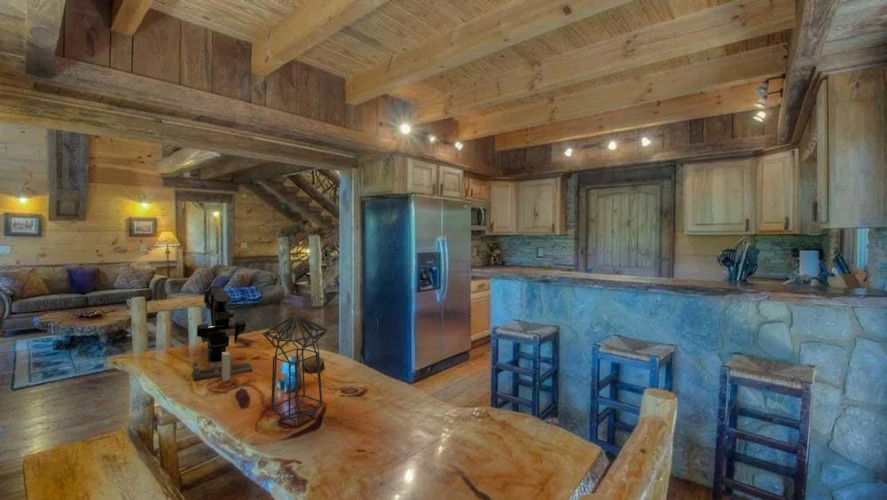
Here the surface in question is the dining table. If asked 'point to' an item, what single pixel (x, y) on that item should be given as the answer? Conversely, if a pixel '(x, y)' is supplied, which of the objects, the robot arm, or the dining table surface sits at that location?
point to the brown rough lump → (312, 365)
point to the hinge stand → (218, 370)
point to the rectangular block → (226, 366)
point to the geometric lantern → (301, 323)
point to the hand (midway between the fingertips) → (223, 344)
